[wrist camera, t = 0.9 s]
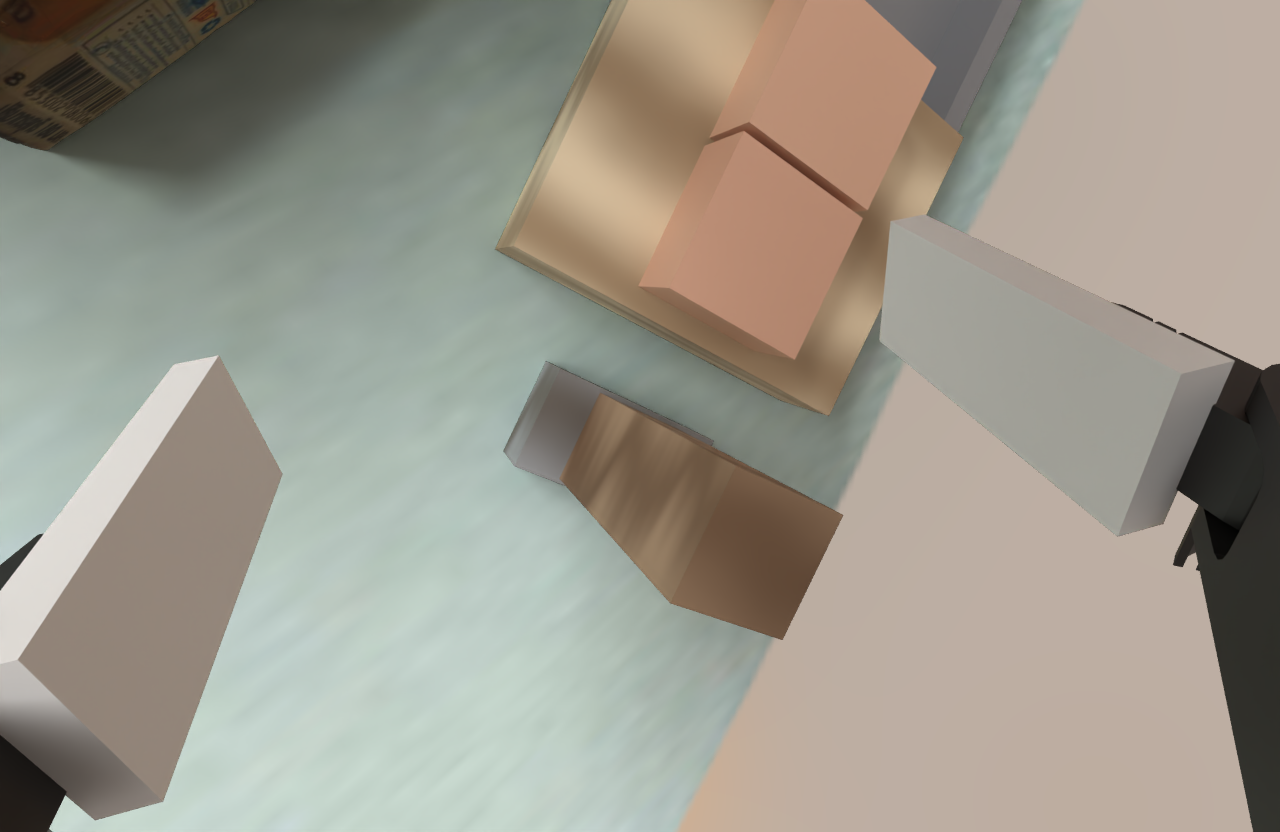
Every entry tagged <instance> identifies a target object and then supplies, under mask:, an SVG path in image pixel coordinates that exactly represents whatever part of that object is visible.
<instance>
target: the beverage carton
mask: <svg viewBox="0 0 1280 832" xmlns="http://www.w3.org/2000/svg"><path fill="white" fill-rule="evenodd" d="M255 1H257V0H0V137H1V138H3V139H6V140H8V141H11V142H14V143H17V144H22V145H25V146H28V147H31V148H35V149H40V150H49V149H50V148H51V147H53V146H54V145H55V144H57V143H58V142H59V141H61V140H62V139H64V138H66V137H67V136H69V135H70V134H72V133H74V132H75V131H77V130H78V129H80V128H82V127H83V126H85V125H86V124H88V123H89V122H91V121H92V120H94V119H95V118H96V117H98V116H99V115H101V114H102V113H104V112H105V111H106V110H108V109H109V108H111V107H112V106H114V105H115V104H116V103H118V102H119V101H121V100H122V99H123V98H125V97H126V96H128V95H129V94H130V93H132V92H133V91H134V90H136V89H137V88H139V87H140V86H141V85H143V84H144V83H146V82H147V81H148V80H150V79H151V78H152V77H154V76H155V75H157V74H158V73H159V72H161V71H162V70H163V69H165V68H166V67H168V66H169V65H170V64H172V63H173V62H174V61H176V60H177V59H179V58H180V57H181V56H183V55H184V54H185V53H187V52H188V51H190V50H191V49H192V48H194V47H195V46H196V45H197V44H199V43H200V42H201V41H202V40H204V39H205V38H206V37H208V36H209V35H210V34H211V33H213V32H214V31H215V30H216V29H218V28H220V27H221V26H223V25H224V24H226V23H228V22H229V21H230V20H231V19H233V18H234V17H235V16H236V15H237V14H239V13H240V12H241V11H243V10H244V9H246V8H247V7H249V6H250V5H252V4H253V3H254V2H255Z"/></svg>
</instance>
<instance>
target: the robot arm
mask: <svg viewBox="0 0 1280 832" xmlns="http://www.w3.org/2000/svg"><path fill="white" fill-rule="evenodd" d="M879 341H880V342H881V343H883V344H884V345H885V346H886V347H887V348H889V349H890V350H891V351H892V352H894V353H895V354H896V355H897V356H898V357H900V358H901V359H902V360H903V361H904V362H906V363H907V364H908V365H909V366H911V367H912V368H913V369H914V370H916V371H917V372H918V373H919V374H920V375H922V376H923V377H924V378H925V379H927V380H928V381H929V382H930V383H931V384H933V385H934V386H935V387H936V388H937V389H939V390H940V391H941V392H942V393H943V394H945V395H946V396H947V397H948V398H949V399H951V400H952V401H953V402H954V403H956V404H957V405H958V406H959V407H961V408H962V409H963V410H964V411H966V412H967V413H968V414H969V415H970V416H972V417H973V418H974V419H975V420H976V421H977V422H979V423H980V424H981V425H982V426H984V427H985V428H986V429H987V430H989V431H990V432H991V433H992V434H993V435H995V436H996V437H997V438H998V439H999V440H1001V441H1002V442H1003V443H1004V444H1005V445H1007V446H1008V447H1009V448H1010V449H1012V450H1013V451H1014V452H1015V453H1016V454H1018V455H1019V456H1020V457H1021V458H1023V459H1024V460H1025V461H1026V462H1027V463H1029V464H1030V465H1031V466H1032V467H1033V468H1035V469H1036V470H1037V471H1038V472H1040V473H1041V474H1042V475H1043V476H1044V477H1046V478H1047V479H1048V480H1049V481H1050V482H1052V483H1053V484H1054V485H1055V486H1057V487H1058V488H1059V489H1060V490H1061V491H1063V492H1064V493H1065V494H1066V495H1068V496H1069V497H1070V498H1071V499H1072V500H1074V501H1075V502H1076V503H1077V504H1078V505H1080V506H1081V507H1082V508H1084V509H1085V510H1086V511H1087V512H1088V513H1089V514H1091V515H1092V516H1093V517H1094V518H1095V519H1097V520H1098V521H1099V522H1100V523H1102V524H1103V525H1104V526H1105V527H1106V528H1108V529H1109V530H1110V531H1111V532H1113V533H1114V534H1115V535H1116V536H1121V535H1125V534H1129V533H1132V532H1136V531H1140V530H1143V529H1146V528H1150V527H1154V526H1157V525H1161V524H1163V523H1164V521H1165V519H1166V516H1167V514H1168V512H1169V510H1170V507H1171V505H1172V503H1173V500H1174V498H1175V496H1176V494H1177V491H1180V492H1181V493H1183V494H1184V495H1185V496H1187V497H1188V498H1190V499H1191V500H1193V501H1194V502H1196V503H1197V504H1198V508H1197V510H1196V512H1195V514H1194V516H1193V518H1192V520H1191V523H1190V525H1189V527H1188V529H1187V531H1186V533H1185V535H1184V537H1183V539H1182V542H1181V544H1180V546H1179V548H1178V550H1177V552H1176V555H1175V559H1174V563H1173V565H1175V566H1179V567H1183V565H1184V563H1185V561H1186V559H1187V557H1188V556H1189V555H1191V554H1193V553H1195V552H1196V555H1197V560H1198V566H1197V568H1196V570H1198V571H1200V574H1201V579H1202V584H1203V589H1204V594H1205V598H1206V603H1207V608H1208V613H1209V618H1210V623H1211V628H1212V633H1213V637H1214V643H1215V647H1216V652H1217V657H1218V662H1219V667H1220V672H1221V677H1222V682H1223V686H1224V691H1225V696H1226V701H1227V706H1228V711H1229V715H1230V721H1231V725H1232V730H1233V735H1234V740H1235V745H1236V750H1237V755H1238V760H1239V765H1240V769H1241V774H1242V779H1243V784H1244V788H1245V794H1246V798H1247V804H1248V808H1249V813H1250V818H1251V823H1252V828H1253V832H1280V364H1276V365H1271V366H1270V367H1268V368H1266V369H1265V370H1261V369H1259V368H1257V367H1255V366H1253V365H1250V364H1248V363H1246V362H1244V361H1242V360H1240V359H1238V358H1236V357H1233V356H1231V355H1229V354H1227V353H1225V352H1223V351H1220V350H1218V349H1216V348H1214V347H1212V346H1210V345H1208V344H1206V343H1203V342H1201V341H1199V340H1197V339H1195V338H1192V337H1191V336H1188V335H1186V334H1184V333H1179V334H1177V333H1176V329H1173V328H1171V327H1169V326H1167V325H1165V324H1163V323H1161V322H1155V323H1154V322H1153V319H1152V318H1150V317H1148V316H1145V315H1144V314H1141V313H1139V312H1137V311H1135V310H1133V309H1131V308H1128V307H1126V306H1124V305H1120V304H1116V303H1112V302H1109V301H1107V300H1105V299H1103V298H1101V297H1099V296H1097V295H1095V294H1093V293H1090V292H1088V291H1086V290H1084V289H1082V288H1080V287H1078V286H1075V285H1073V284H1071V283H1069V282H1067V281H1065V280H1063V279H1060V278H1059V277H1056V276H1054V275H1052V274H1050V273H1048V272H1046V271H1044V270H1042V269H1040V268H1037V267H1035V266H1033V265H1031V264H1029V263H1026V262H1025V261H1023V260H1020V259H1018V258H1016V257H1014V256H1012V255H1010V254H1008V253H1005V252H1003V251H1001V250H999V249H997V248H995V247H993V246H991V245H989V244H987V243H984V242H982V241H980V240H978V239H976V238H974V237H971V236H970V235H967V234H965V233H963V232H961V231H959V230H957V229H955V228H953V227H950V226H948V225H946V224H944V223H942V222H940V221H938V220H936V219H934V218H931V217H929V216H927V215H925V214H924V215H919V216H914V217H909V218H904V219H899V220H894V221H891V222H890V232H889V243H888V253H887V264H886V274H885V285H884V295H883V306H882V316H881V327H880V337H879ZM281 477H282V472H281V470H280V469H279V467H278V465H277V463H276V461H275V459H274V457H273V455H272V454H271V452H270V450H269V448H268V446H267V444H266V442H265V441H264V439H263V437H262V435H261V433H260V431H259V429H258V427H257V426H256V424H255V422H254V420H253V418H252V416H251V414H250V412H249V411H248V409H247V407H246V405H245V403H244V401H243V399H242V398H241V396H240V394H239V392H238V390H237V388H236V386H235V384H234V383H233V381H232V379H231V377H230V375H229V373H228V371H227V370H226V368H225V366H224V364H223V362H222V360H221V358H220V356H219V355H218V356H213V357H208V358H203V359H198V360H193V361H188V362H183V363H178V364H174V365H173V366H172V367H171V369H170V370H169V371H168V373H167V374H166V375H165V377H164V378H163V379H162V380H161V382H160V383H159V384H158V386H157V387H156V388H155V390H154V391H153V392H152V393H151V395H150V396H149V397H148V399H147V400H146V401H145V403H144V404H143V405H142V407H141V408H140V409H139V410H138V412H137V413H136V414H135V416H134V417H133V418H132V420H131V421H130V422H129V423H128V425H127V426H126V427H125V429H124V430H123V431H122V433H121V434H120V435H119V437H118V438H117V439H116V440H115V442H114V443H113V444H112V446H111V447H110V448H109V450H108V451H107V452H106V453H105V455H104V456H103V457H102V459H101V460H100V461H99V463H98V464H97V465H96V467H95V468H94V469H93V470H92V472H91V473H90V474H89V476H88V477H87V478H86V480H85V481H84V482H83V483H82V485H81V486H80V487H79V489H78V490H77V491H76V493H75V494H74V495H73V497H72V498H71V499H70V500H69V502H68V503H67V504H66V506H65V507H64V508H63V510H62V511H61V512H60V513H59V515H58V516H57V517H56V519H55V520H54V521H53V523H52V524H51V525H50V527H49V528H48V529H47V530H46V532H45V533H44V534H39V535H37V536H36V537H35V538H33V539H32V540H31V541H30V542H28V543H27V544H26V545H25V546H23V547H22V548H21V549H20V550H18V551H17V552H16V553H15V554H13V555H12V556H11V557H10V558H8V559H7V560H6V561H5V562H4V563H2V564H1V565H0V832H52V831H51V830H50V829H49V827H50V825H51V823H52V821H53V819H54V817H55V815H56V813H57V811H58V809H59V807H60V805H61V803H62V801H63V799H64V797H65V795H66V796H67V797H68V798H69V799H71V800H72V801H73V802H74V803H75V804H76V805H78V806H79V807H80V808H81V809H82V810H84V811H85V812H86V813H87V814H88V815H89V816H91V817H92V818H93V819H94V820H98V819H102V818H105V817H109V816H112V815H116V814H120V813H123V812H127V811H130V810H134V809H138V808H141V807H145V806H148V805H152V804H156V803H159V802H163V800H164V798H165V795H166V792H167V789H168V787H169V784H170V781H171V778H172V776H173V773H174V770H175V767H176V765H177V762H178V759H179V756H180V754H181V751H182V748H183V745H184V743H185V740H186V737H187V735H188V732H189V729H190V726H191V724H192V721H193V718H194V715H195V713H196V710H197V707H198V704H199V702H200V699H201V696H202V693H203V691H204V688H205V685H206V682H207V680H208V677H209V674H210V671H211V669H212V666H213V663H214V661H215V658H216V655H217V652H218V650H219V647H220V644H221V641H222V639H223V636H224V633H225V630H226V628H227V625H228V622H229V619H230V617H231V614H232V611H233V608H234V606H235V603H236V600H237V597H238V595H239V592H240V589H241V586H242V584H243V581H244V578H245V576H246V573H247V570H248V567H249V565H250V562H251V559H252V556H253V554H254V551H255V548H256V545H257V543H258V540H259V537H260V534H261V532H262V529H263V526H264V523H265V521H266V518H267V515H268V512H269V510H270V507H271V504H272V502H273V499H274V496H275V493H276V491H277V488H278V485H279V482H280V480H281Z"/></svg>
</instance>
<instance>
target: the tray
mask: <svg viewBox="0 0 1280 832" xmlns="http://www.w3.org/2000/svg"><path fill="white" fill-rule="evenodd" d="M865 1H866V2H867V3H868V4H870V5H871V6H872V7H873V8H874V9H875V10H876V11H877V12H878V13H879V14H880V15H881V16H882V17H883V18H884V19H886V20H887V21H888V22H889V23H890V24H891V25H892V26H893V27H894V28H895V29H896V30H897V31H898V32H899V33H901V34H902V35H903V36H904V37H905V38H906V39H907V40H908V41H909V42H910V43H911V44H912V45H913V46H914V47H915V48H917V49H918V50H919V51H920V52H921V53H922V54H923V55H924V56H925V57H926V58H927V59H928V60H929V61H930V62H932V63H933V64H934V65H935V66H936V69H935V71H934V73H933V76H932V78H931V80H930V82H929V84H928V86H927V88H926V90H925V92H924V94H923V96H922V98H921V100H922V101H923V102H924V103H925V104H926V105H928V106H929V107H930V108H931V109H932V110H933V111H934V112H935V113H937V114H938V115H939V116H940V117H941V118H942V119H943V120H944V121H946V122H947V123H948V124H949V125H950V126H951V127H952V128H953V129H955V130H956V131H957V132H959V130H960V128H961V126H962V124H963V122H964V120H965V117H966V115H967V113H968V111H969V109H970V107H971V105H972V103H973V101H974V99H975V97H976V95H977V93H978V91H979V89H980V86H981V84H982V82H983V80H984V78H985V76H986V74H987V72H988V70H989V68H990V66H991V64H992V62H993V60H994V58H995V55H996V53H997V51H998V49H999V47H1000V45H1001V43H1002V41H1003V39H1004V37H1005V35H1006V33H1007V31H1008V29H1009V27H1010V24H1011V22H1012V20H1013V18H1014V16H1015V14H1016V12H1017V10H1018V8H1019V6H1020V4H1021V2H1022V0H865Z"/></svg>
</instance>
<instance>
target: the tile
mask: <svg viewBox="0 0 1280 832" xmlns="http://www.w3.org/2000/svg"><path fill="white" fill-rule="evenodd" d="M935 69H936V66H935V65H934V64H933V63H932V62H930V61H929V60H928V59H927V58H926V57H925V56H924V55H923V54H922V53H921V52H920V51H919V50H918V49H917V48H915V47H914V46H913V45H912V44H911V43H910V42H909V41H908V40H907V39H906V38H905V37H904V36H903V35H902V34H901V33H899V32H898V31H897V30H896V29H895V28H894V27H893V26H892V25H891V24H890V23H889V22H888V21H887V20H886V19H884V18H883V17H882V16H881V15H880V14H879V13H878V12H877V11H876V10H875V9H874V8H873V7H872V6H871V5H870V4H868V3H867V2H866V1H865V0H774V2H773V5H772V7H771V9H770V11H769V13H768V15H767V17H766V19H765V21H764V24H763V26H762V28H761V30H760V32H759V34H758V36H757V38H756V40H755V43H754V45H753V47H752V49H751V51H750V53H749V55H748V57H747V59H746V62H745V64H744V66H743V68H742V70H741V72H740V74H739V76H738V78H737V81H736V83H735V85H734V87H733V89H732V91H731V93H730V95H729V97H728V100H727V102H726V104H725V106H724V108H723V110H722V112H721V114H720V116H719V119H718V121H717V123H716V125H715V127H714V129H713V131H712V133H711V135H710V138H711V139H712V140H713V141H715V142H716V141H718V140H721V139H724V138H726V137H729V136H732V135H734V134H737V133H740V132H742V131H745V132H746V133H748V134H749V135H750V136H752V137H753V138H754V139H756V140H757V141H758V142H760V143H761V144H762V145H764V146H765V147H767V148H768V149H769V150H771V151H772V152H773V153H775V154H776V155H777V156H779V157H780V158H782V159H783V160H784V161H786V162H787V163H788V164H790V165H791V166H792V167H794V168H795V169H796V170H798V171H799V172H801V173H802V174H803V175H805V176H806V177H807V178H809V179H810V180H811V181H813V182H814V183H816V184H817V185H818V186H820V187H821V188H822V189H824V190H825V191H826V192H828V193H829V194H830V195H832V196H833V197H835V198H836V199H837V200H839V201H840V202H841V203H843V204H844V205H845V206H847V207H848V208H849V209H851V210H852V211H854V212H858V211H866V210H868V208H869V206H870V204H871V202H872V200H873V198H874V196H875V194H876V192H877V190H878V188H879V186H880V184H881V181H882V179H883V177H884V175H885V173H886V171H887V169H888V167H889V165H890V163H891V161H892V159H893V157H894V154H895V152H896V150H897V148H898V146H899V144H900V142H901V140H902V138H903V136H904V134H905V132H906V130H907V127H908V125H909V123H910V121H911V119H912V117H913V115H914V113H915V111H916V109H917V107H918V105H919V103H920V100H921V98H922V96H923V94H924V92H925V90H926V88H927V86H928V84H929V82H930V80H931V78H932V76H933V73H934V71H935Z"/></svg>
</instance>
